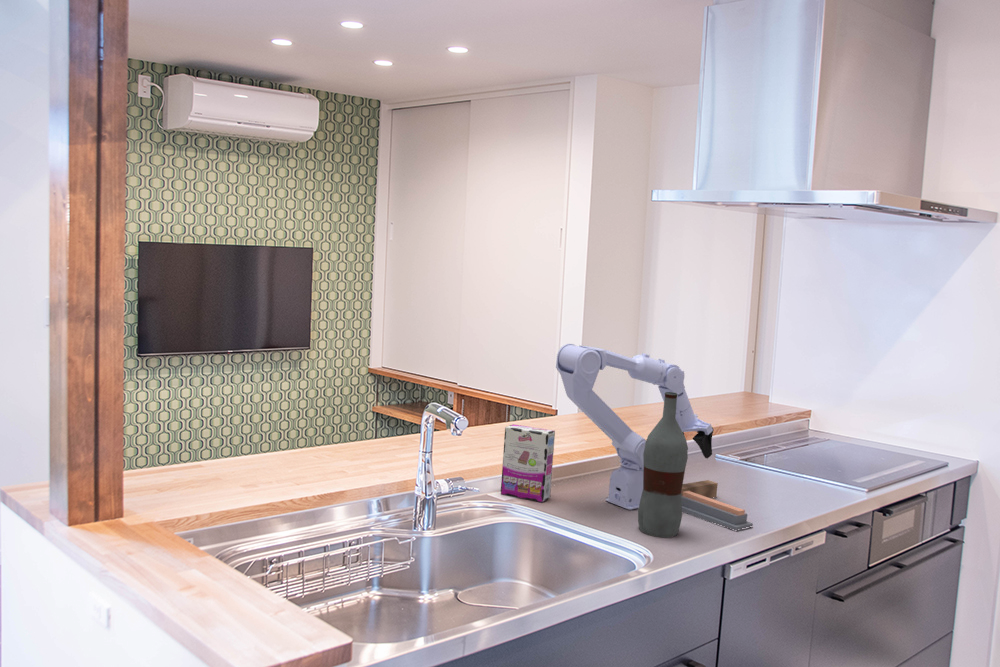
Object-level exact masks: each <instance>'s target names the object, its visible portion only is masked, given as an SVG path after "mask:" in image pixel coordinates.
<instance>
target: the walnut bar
mask: <svg viewBox="0 0 1000 667" xmlns="http://www.w3.org/2000/svg"><path fill="white" fill-rule="evenodd" d="M718 486H719V485H718V482H715V481H712V480H709V479H707V480H706V479H705V480H700V481H694V482H688V483H683V485H682V491H681V496H683V492H685V491H691V492H693V493H696V494H699V495H702V496H705V497H708V498H712V499H714V498H713V497H716V498H717V492H718Z"/></svg>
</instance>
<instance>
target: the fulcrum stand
mask: <svg viewBox="0 0 1000 667" xmlns="http://www.w3.org/2000/svg"><path fill="white" fill-rule="evenodd" d="M684 512H685V514H687V513H688V514H687V515H690V516H692V515H693V517H695V518H697V519H700V518H701V519H700V520H703V519H704V521H706V520H707V521H706V522H708V521H710V522H709V523H711V522H713V523H712V524H714V523H716V524H715V525H717V524H719V525H722V526H725V527H728V528H731V529H734V530H738V529H742V528H746V527H750V526H754V523H753V522H750V521H747V520H748V513H746V509H743V508H740V507H737V506H734V505H731V504H728V503H725V502H722V501H720V500H716V499H715V498H712V499H711V498H708V497H705V496H702V495H699V494H696V493H693V492H691V491H685V492H683V496H682V513H684ZM719 525H718V526H719ZM722 526H721V527H722ZM725 527H724V528H725Z"/></svg>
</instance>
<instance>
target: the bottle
mask: <svg viewBox="0 0 1000 667" xmlns="http://www.w3.org/2000/svg"><path fill="white" fill-rule="evenodd" d="M664 394H665V399H664V401H663V411H662V417H661V418H660V419H659V421H658V422H657V424H655V426H654V427H653V429H652V430H651V431H650V433H648V436H647V438H646V439H645V440H646V443H645V448H644V453H643V461H644V471H643V491H642V495H641V499H640V504H639V508H637V516H638V517H637V520H638V522H637V523H638V527H639V530H640V532H641V533H643V534H646V535H648V536H652V537H656V538H657V537H659V538H672V536H673V537H675V536H677V535H678V532H679V530H680V527H681V522H682V518H683V512H682V496H681V491H682V485H683V484H684V478H685V474H686V473H685V471H686V466H687V463H688V459H689V458H688V457H689V456H688V451H689V449H688V450H687V446H688V443H687V438H686V436H685V433H684V434H683V432H682V430H681V428H680V426H679V424H678V422H677V421H676V419H675V418H676V404H677V395H678V394H677V393H674V392H665V393H664Z"/></svg>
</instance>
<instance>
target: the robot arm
mask: <svg viewBox="0 0 1000 667" xmlns="http://www.w3.org/2000/svg"><path fill="white" fill-rule="evenodd" d="M606 367H612V368H615V369H618V370H622V371H623V370H624V371H627V372H628V375H629V377H630V378H632V379H634V380H638V381H642V382H646V383H649V384H651V385H657V387H658V390H659V393H660V394H661V397H662V401H663V402H664V399H665V394H664V393H665V392H674V393H677V394H678V395H677V404H676V418H675V419H676V421H677V422H678V424H679V426H680V428H681V430H682V432H683V434H684V435H685V433H688V432H689V433H690V432H696V434H695V435H694V436H693V437H692V440H693V441H694V442H695V443H696V444H697V446H698V447H699V449H700V451H701V453H702V455H703V457H704V458H705V459H707V460H708V459H709V458H710V457H711V456H712V455H713V448H712V441H713V433H714V427H713V426H712V424H711V423H708V422H705V421H704V420H702V419H700V418H698V417H699V416H698V414H696V413H694V410H693V407H692V405H691V404H692V403H691V402H690V399H689V397H688V396H689V395H688V394H687V391H686V389H685V388H686V387H685V383H684V382H685V371H684V370H682V369H681V368H680V366H678V364H677V365H676V364H672V363H669V362H665V359H662V358H658V359H654V358H651V357H650V354H647V353H644V352H643V353H641V354H636V355H633V357H630V356H627V355H623V354H620V353H617V352H614V351H612V350H609V349H608V350H607V349H604V348H600V347H595V346H589V345H588V346H587V345H576V344H574V343H566V344H564V345H563V346H561V347H560V348H559V350H558V352H557V354H556V362H555V370H557V371H558V373H559V374H560V377H561V379H562V380H561V381H562V383H563V388H564V391H565V394H566V396H567V398H568V399H569V400H570V401H572V403H573V404H574V405H576V407H577V408H578V409H579V410H580V411H581V412H583V414H584V415H585V416H587V418H588V419H589V420H590V421H591V422H592V423H594V425H595V426H596V427H598V429H600V430H601V431H602V432H603V433H604V434H605V435H606V436H607V437H608V438H609V439H610V440H611V441H612V442H611V446H613V447H614V448H615V450H616V454H617V456H618V458H619V463H621V464H620V466H619V467H618V468H616V469H614V470H613V471H611V474H610V475H609V478H610V479H609V489H608V497H607V498H605V501H606V502H609V503H611V504H613V505H616V506H619V507H621V508H624V509H626V510H630V511H631V510H636V509H639V504H640V499H641V495H642V491H643V471H644V461H643V453H644V448H645V443H646V440H647V439H646V438H644V437H643V436H641V435H640V434H638V433H636V432H635V431H634V430H633V429H632V428H630V426H628V424H626V422H625V421H624V420H622V418H620V417H619V415H618V414H617V413H616V412H615V411H614V410H613V409H612V408H611V407H610V406H609V405H608V404H607V403H606V402H605V401H604V400H603V399H602V398H601V397H600V396H599V395H598V394H597V393H596V392H595V391H594V390H593V388H594V386H595V382H596V380H597V377H598V374H599V372H600V370H601V371H602V370H604V369H605V368H606ZM687 450H688V451H689V447H688V445H687Z"/></svg>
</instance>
